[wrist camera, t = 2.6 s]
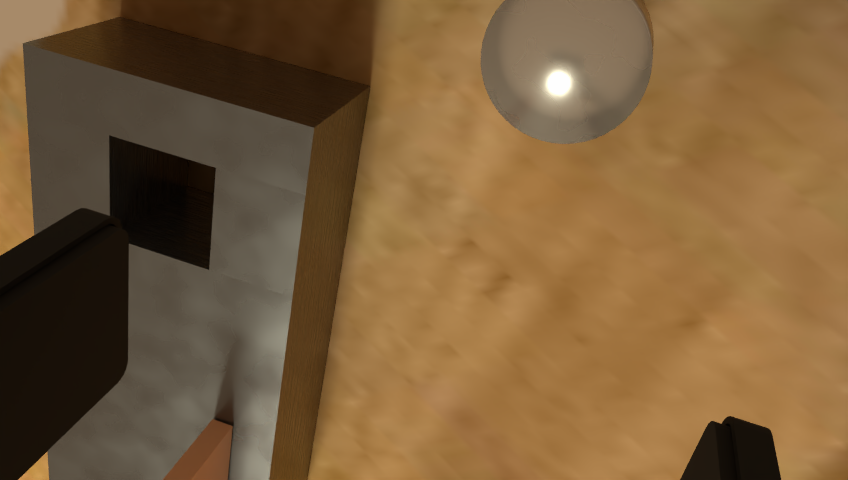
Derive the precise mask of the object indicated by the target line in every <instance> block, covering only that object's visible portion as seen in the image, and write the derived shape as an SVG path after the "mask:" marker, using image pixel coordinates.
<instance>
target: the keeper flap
mask: <svg viewBox="0 0 848 480" xmlns="http://www.w3.org/2000/svg"><path fill="white" fill-rule="evenodd" d="M232 428H233V426H231V425H228V424H225V423H222V422H220V421H217V420H214V419H212V420H211V422H210V423H209V424H208V425H207V426H206V428H205V429H204V430H203V431H202V433H201V434H200V435H199V436H198V437H197V439H196V440H195V441H194V442H193V443H192V445H191V446H190V447H189V448H188V450H187V451H186V452H185V453H184V454H183V456H182V457H181V458H180V459H179V460H178V462H177V463H176V464H175V465H174V467H173V468H172V469H171V470H170V471H169V473H168V474H167V475H166V476H165V477H164V479H163V480H228V471H229V460H230V450H231V439H232Z"/></svg>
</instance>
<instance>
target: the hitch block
mask: <svg viewBox="0 0 848 480" xmlns="http://www.w3.org/2000/svg"><path fill="white" fill-rule="evenodd" d="M23 53H24V69H25V86H26V102H27V119H28V135H29V152H30V169H31V185H32V202H33V218H34V235H36V234H37V233H39V232H41V231H42V230H44V229H46V228H47V227H49V226H51V225H52V224H54V223H56V222H57V221H59V220H61V219H62V218H64V217H66V216H67V215H69V214H71V213H72V212H74V211H76V210H78V209H80V208H87V209H90V210H93V211H97V212H100V213H103V214H106V215H109V216H112V217H115V218H117V219H118V220H119V221H120V223H121V225H122V229H123V230H125V231H126V232H127V233H128V237H129V299H128V364H127V368H126V371H125V373H124V375H123V377H122V378H121V380H120V381H119V382H118V383H117V384H116V385H115V386H114V387H113V388H112V389H111V390H110V391H109V392H108V393H107V394H106V395H105V396H104V397H103V398H102V399H101V400H100V401H99V402H98V403H97V404H96V405H95V406H94V407H92V408H91V409H90V410H89V411H88V412H87V413H86V414H85V415H84V416H83V417H82V418H81V419H80V420H79V421H78V422H77V423H76V424H75V425H74V426H73V427H72V428H71V429H70V430H69V431H68V432H67V433H66V434H65V435H64V436H63V437H61V438H60V439H59V440H58V441H57V442H56V443H55V444H54V445H53V446H52V447H51V448H50V449H49V450H48V466H49V480H163V479H164V477H165V476H166V475H167V474H168V473H169V471H170V470H171V469H172V468H173V467H174V465H175V464H176V463H177V462H178V460H179V459H180V458H181V457H182V456H183V454H184V453H185V452H186V451H187V450H188V448H189V447H190V446H191V445H192V443H193V442H194V441H195V440H196V439H197V437H198V436H199V435H200V434H201V433H202V431H203V430H204V429H205V428H206V426H207V425H208V424H209V423H210V422H211V420H212V419H214V420H217V421H220V422H222V423H225V424H228V425H231V426H233V428H232V439H231V450H230V460H229V471H228V480H307V476H308V470H309V464H310V458H311V451H312V445H313V439H314V433H315V427H316V420H317V414H318V408H319V402H320V396H321V389H322V383H323V377H324V371H325V364H326V358H327V352H328V346H329V340H330V333H331V327H332V321H333V315H334V308H335V302H336V296H337V290H338V284H339V277H340V271H341V265H342V259H343V253H344V246H345V240H346V234H347V228H348V221H349V215H350V209H351V203H352V197H353V190H354V184H355V178H356V172H357V166H358V159H359V153H360V147H361V141H362V134H363V128H364V122H365V116H366V110H367V103H368V97H369V91H370V86H366V85H363V84H359V83H355V82H352V81H348V80H345V79H341V78H337V77H334V76H330V75H327V74H323V73H319V72H316V71H312V70H309V69H305V68H301V67H298V66H294V65H291V64H287V63H283V62H280V61H276V60H273V59H269V58H265V57H262V56H258V55H255V54H251V53H247V52H244V51H240V50H237V49H233V48H229V47H226V46H222V45H219V44H215V43H211V42H208V41H204V40H201V39H197V38H193V37H190V36H186V35H183V34H179V33H175V32H172V31H168V30H165V29H161V28H157V27H154V26H150V25H147V24H143V23H139V22H136V21H132V20H129V19H125V18H121V17H118V18H115V19H111V20H107V21H104V22H100V23H96V24H93V25H89V26H85V27H81V28H78V29H74V30H70V31H67V32H63V33H59V34H56V35H52V36H48V37H44V38H41V39H37V40H33V41H30V42H26V43H23ZM188 160H192V161H195V162H198V163H201V164H205V165H208V166H211V167H215V168H216V173H215V189H214V194H211V193H208V192H205V191H201V190H198V189H195V188H192V187H189V186H187V181H188Z"/></svg>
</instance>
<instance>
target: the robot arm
mask: <svg viewBox="0 0 848 480" xmlns="http://www.w3.org/2000/svg"><path fill="white" fill-rule="evenodd" d="M128 299H129V237H128V233H127V232H126V231H125V230H123V229H122V225H121V223H120V221H119V220H118V219H117V218H115V217H112V216H109V215H106V214H103V213H100V212H97V211H93V210H90V209H87V208H80V209H78V210H76V211H74V212H72V213H71V214H69V215H67V216H66V217H64V218H62V219H61V220H59V221H57V222H56V223H54V224H52V225H51V226H49V227H47V228H46V229H44V230H42V231H41V232H39V233H37V234H36V235H34V236H32V237H31V238H29V239H27V240H26V241H24V242H22V243H21V244H19V245H17V246H16V247H14V248H12V249H11V250H9V251H7V252H6V253H4V254H3V255H1V256H0V480H18V479H19V478H20V477H21V476H22V475H23V474H24V473H25V472H26V471H27V470H28V469H29V468H31V467H32V466H33V465H34V464H35V463H36V462H37V461H38V460H39V459H40V458H41V457H42V456H43V455H44V454H45V453H46V452H47V451H48V450H49V449H50V448H51V447H52V446H53V445H54V444H55V443H56V442H57V441H58V440H59V439H60V438H61V437H63V436H64V435H65V434H66V433H67V432H68V431H69V430H70V429H71V428H72V427H73V426H74V425H75V424H76V423H77V422H78V421H79V420H80V419H81V418H82V417H83V416H84V415H85V414H86V413H87V412H88V411H89V410H90V409H91V408H92V407H94V406H95V405H96V404H97V403H98V402H99V401H100V400H101V399H102V398H103V397H104V396H105V395H106V394H107V393H108V392H109V391H110V390H111V389H112V388H113V387H114V386H115V385H116V384H117V383H118V382H119V381H120V380H121V378H122V377H123V375H124V373H125V371H126V368H127V364H128ZM680 480H781V477H780V472H779V466H778V461H777V456H776V451H775V446H774V441H773V436H772V433H771V430H769V429H768V428H765V427H762V426H759V425H756V424H753V423H750V422H747V421H744V420H741V419H738V418H734V417H731V416H729V417H727V418H726V419H725V420H724V421H723V422H722V424H720V423H717V422H714V421H711V422H710V423H709V424H708V425H707V427H706V429H705V431H704V433H703V435H702V437H701V439H700V441H699V443H698V445H697V447H696V449H695V451H694V453H693V455H692V457H691V459H690V461H689V463H688V465H687V467H686V469H685V471H684V473H683V475H682V477H681V479H680Z"/></svg>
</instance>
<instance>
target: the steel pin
mask: <svg viewBox="0 0 848 480" xmlns="http://www.w3.org/2000/svg"><path fill="white" fill-rule="evenodd" d="M652 59H653V27H652V22H651V18H650V15H649V12H648V10H647V7H646V5H645V3H644V2H643V0H505V1H504V2H503V3H502V4H501V6H500V7H499V8H498V9H497V11H496V12H495V14H494V15H493V17H492V19H491V20H490V23H489V25H488V27H487V29H486V32H485V36H484V39H483V44H482V50H481V70H482V76H483V81H484V85H485V87H486V90H487V93H488V95H489V97H490V99H491V101H492V103H493V104H494V106H495V107H496V109H497V110H498V112H499V113H500V114H501V115H502V116H503V117H504V118H505V119H506V120H507V121H508V122H509V123H510V124H511V125H512V126H514V127H515V128H517V129H518V130H520V131H521V132H523V133H525V134H527V135H529V136H531V137H533V138H536V139H539V140H542V141H546V142H551V143H560V144H570V143H579V142H585V141H588V140H591V139H595V138H597V137H599V136H602V135H604V134H606V133H608V132H609V131H611V130H613V129H614V128H616V127H617V126H618V125H619V124H621V123H622V122H623V121H624V120H625V119H626V118H627V117H628V116H629V115H630V114H631V113H632V112H633V110H634V109H635V108H636V106H637V105H638V104H639V102H640V100H641V98H642V97H643V95H644V93H645V90H646V88H647V85H648V82H649V78H650V75H651V68H652Z"/></svg>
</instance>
